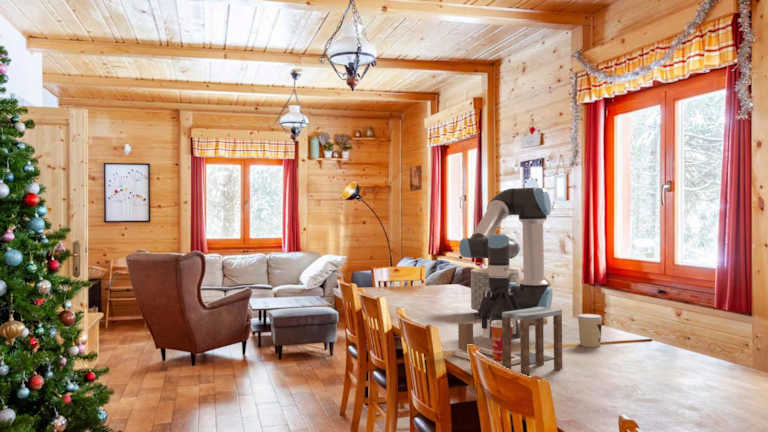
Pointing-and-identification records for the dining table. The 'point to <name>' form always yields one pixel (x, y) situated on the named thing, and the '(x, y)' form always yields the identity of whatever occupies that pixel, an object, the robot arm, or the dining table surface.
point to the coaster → (534, 357)
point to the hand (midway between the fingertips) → (499, 335)
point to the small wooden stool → (524, 318)
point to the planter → (485, 284)
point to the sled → (467, 338)
